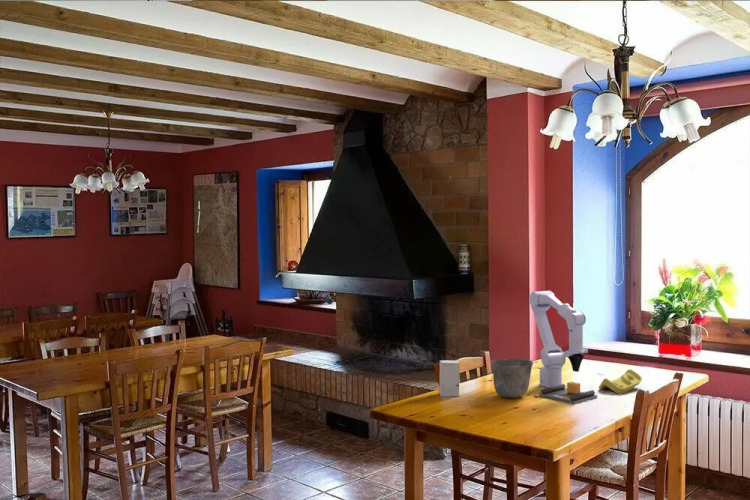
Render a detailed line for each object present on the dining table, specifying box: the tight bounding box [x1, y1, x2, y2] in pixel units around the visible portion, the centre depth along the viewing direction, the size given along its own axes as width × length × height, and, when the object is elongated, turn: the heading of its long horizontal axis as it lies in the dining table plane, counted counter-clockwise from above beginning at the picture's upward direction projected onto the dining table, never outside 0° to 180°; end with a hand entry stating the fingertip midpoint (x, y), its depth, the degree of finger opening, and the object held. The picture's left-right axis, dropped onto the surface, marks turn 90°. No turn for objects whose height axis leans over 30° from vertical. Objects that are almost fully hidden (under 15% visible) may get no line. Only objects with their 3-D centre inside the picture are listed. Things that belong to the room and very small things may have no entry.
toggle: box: [566, 381, 581, 394], centre depth 298 cm, size 4×3×4 cm
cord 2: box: [570, 389, 596, 400], centre depth 290 cm, size 2×15×2 cm, turn 128°
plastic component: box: [598, 369, 643, 395], centre depth 310 cm, size 20×7×10 cm
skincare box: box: [438, 359, 461, 398], centre depth 301 cm, size 8×6×15 cm
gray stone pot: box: [490, 357, 534, 399], centre depth 298 cm, size 18×18×15 cm
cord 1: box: [540, 383, 566, 394], centre depth 301 cm, size 2×15×2 cm, turn 128°
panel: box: [538, 387, 598, 405], centre depth 296 cm, size 18×16×1 cm
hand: (575, 371), depth 301 cm, fingers closed
